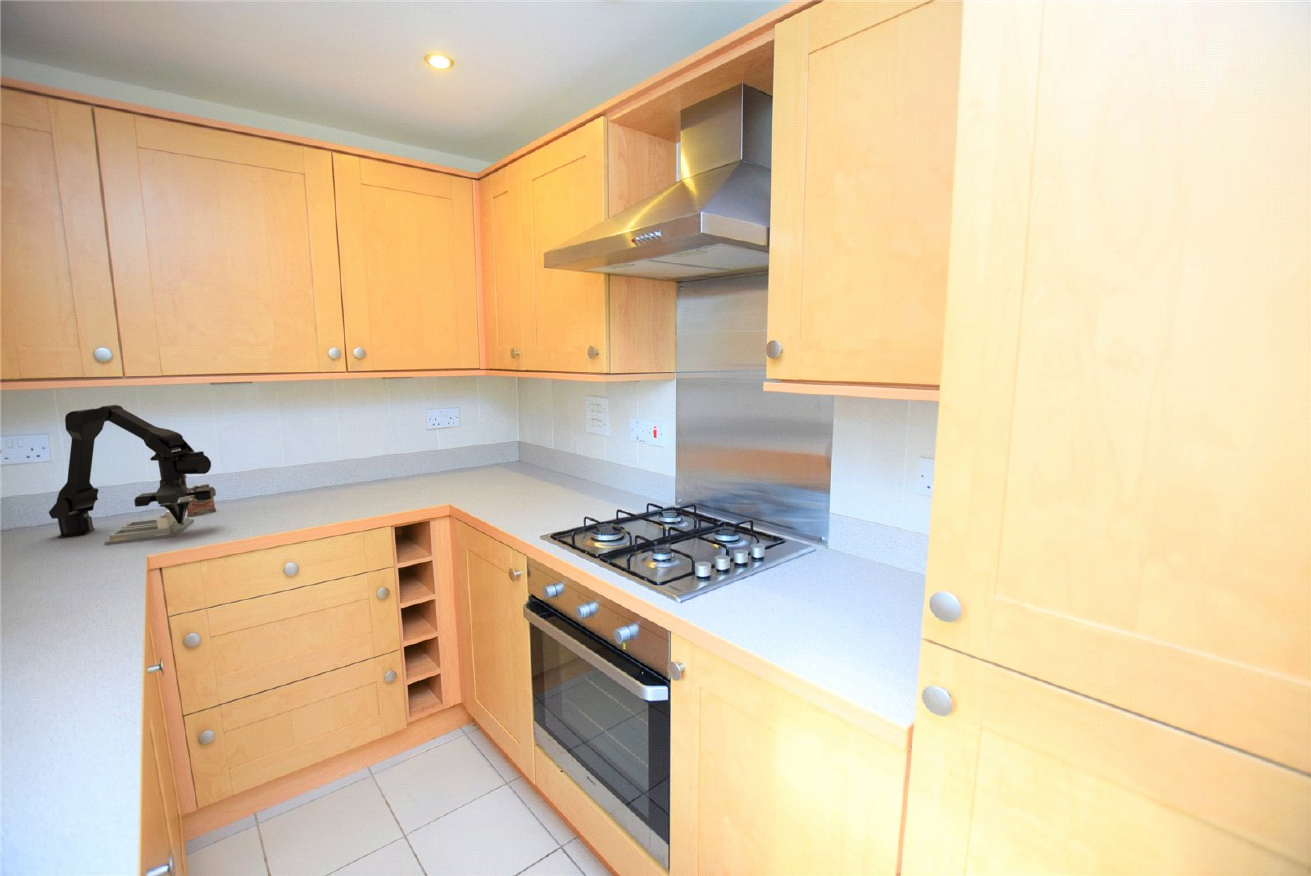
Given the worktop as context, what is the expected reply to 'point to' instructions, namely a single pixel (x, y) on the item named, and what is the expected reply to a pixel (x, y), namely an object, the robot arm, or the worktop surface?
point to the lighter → (200, 504)
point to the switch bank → (146, 531)
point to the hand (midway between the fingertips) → (180, 523)
